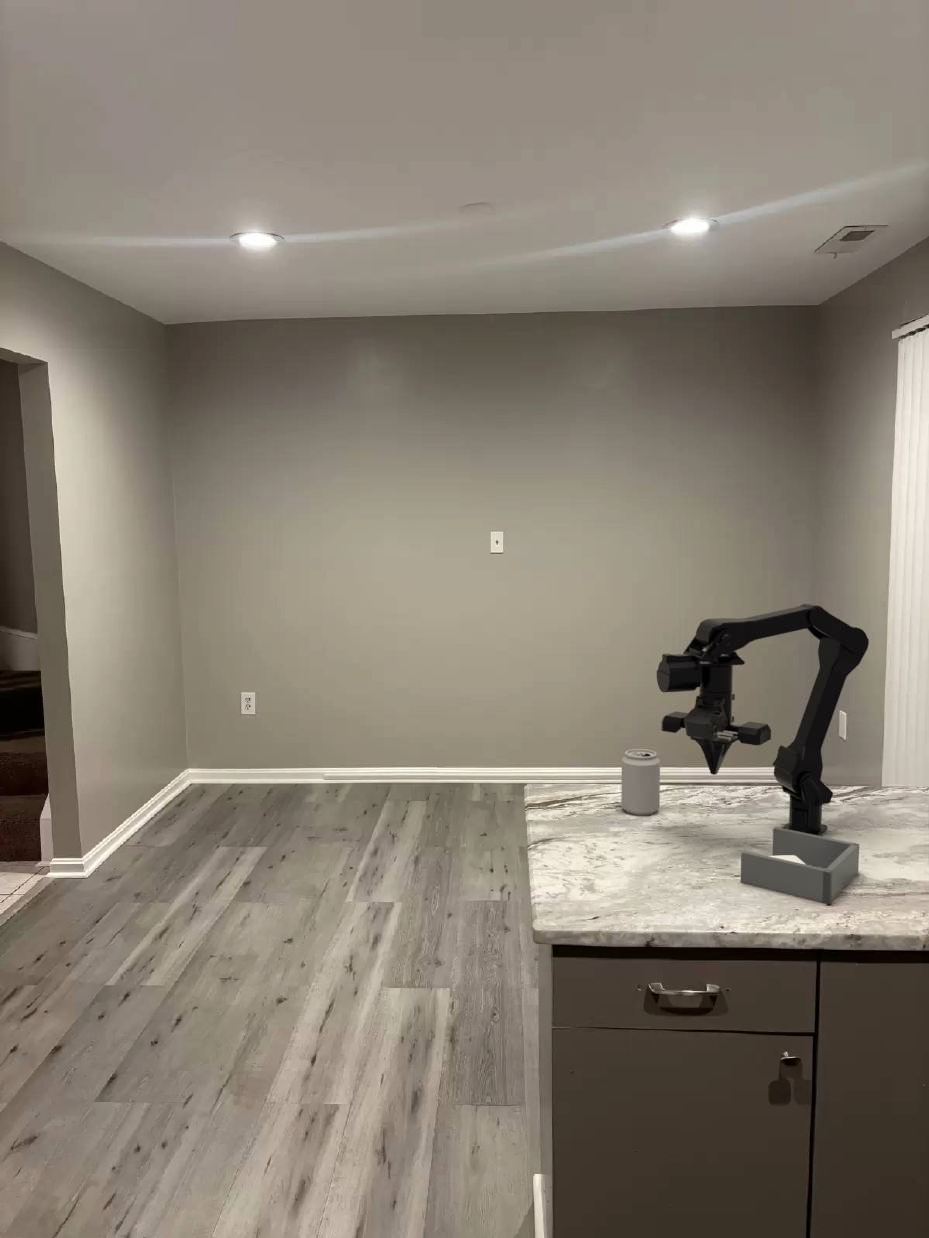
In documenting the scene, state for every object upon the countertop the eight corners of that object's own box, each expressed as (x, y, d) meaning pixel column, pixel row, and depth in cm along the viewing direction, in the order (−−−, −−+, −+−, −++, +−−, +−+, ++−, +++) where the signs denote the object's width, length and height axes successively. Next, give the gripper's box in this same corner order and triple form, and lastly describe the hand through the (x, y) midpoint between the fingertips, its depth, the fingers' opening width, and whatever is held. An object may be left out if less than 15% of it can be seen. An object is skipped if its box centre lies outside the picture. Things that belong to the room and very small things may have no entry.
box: (774, 854, 164) (775, 826, 163) (858, 873, 155) (859, 843, 155) (740, 882, 152) (741, 852, 152) (829, 903, 144) (830, 872, 143)
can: (659, 817, 184) (660, 757, 183) (620, 815, 185) (621, 756, 184) (659, 805, 191) (660, 747, 190) (622, 803, 193) (622, 746, 191)
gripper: (647, 691, 169) (646, 775, 171) (748, 703, 157) (746, 794, 159) (675, 681, 177) (674, 762, 179) (773, 692, 166) (770, 778, 168)
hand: (714, 774), depth 171 cm, fingers closed
